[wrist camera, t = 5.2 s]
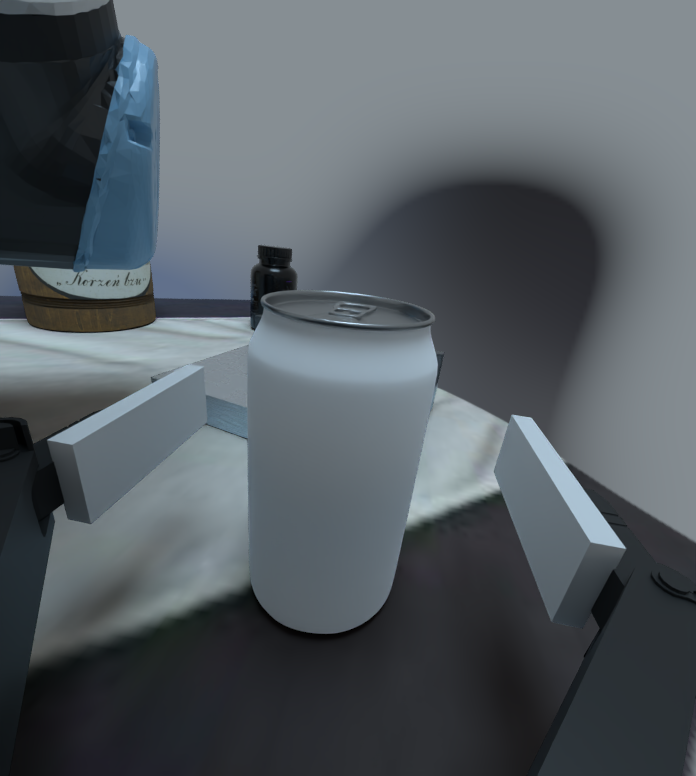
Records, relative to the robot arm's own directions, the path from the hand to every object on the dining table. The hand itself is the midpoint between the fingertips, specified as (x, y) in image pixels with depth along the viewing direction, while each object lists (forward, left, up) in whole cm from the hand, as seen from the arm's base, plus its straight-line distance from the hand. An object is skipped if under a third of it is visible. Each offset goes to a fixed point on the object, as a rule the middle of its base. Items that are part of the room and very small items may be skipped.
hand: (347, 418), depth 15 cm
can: (0, -2, -7) cm, 7 cm away
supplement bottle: (-27, +33, -7) cm, 43 cm away
